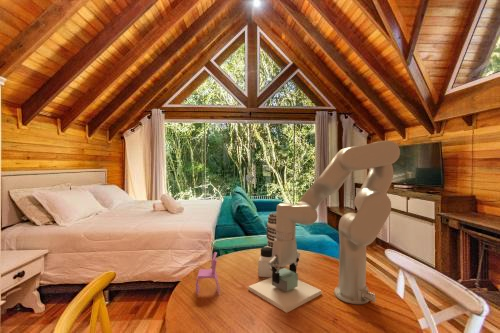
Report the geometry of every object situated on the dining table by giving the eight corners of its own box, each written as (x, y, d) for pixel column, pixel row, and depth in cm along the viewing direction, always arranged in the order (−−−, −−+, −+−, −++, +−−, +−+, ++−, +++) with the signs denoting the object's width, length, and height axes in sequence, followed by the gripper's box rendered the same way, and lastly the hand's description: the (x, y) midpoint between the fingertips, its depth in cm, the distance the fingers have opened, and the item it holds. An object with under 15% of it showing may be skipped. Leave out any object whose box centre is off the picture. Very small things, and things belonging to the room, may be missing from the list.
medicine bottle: (274, 278, 114) (274, 251, 114) (257, 276, 115) (258, 249, 115) (275, 271, 121) (276, 245, 121) (260, 270, 122) (260, 244, 122)
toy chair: (197, 286, 105) (198, 249, 105) (219, 285, 106) (220, 249, 106) (195, 297, 97) (195, 257, 97) (219, 296, 98) (219, 256, 98)
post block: (321, 294, 101) (321, 277, 101) (286, 312, 88) (286, 293, 88) (282, 276, 116) (283, 261, 116) (248, 289, 103) (248, 273, 103)
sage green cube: (297, 286, 102) (297, 273, 102) (285, 291, 97) (285, 278, 97) (284, 279, 107) (284, 267, 107) (272, 285, 102) (272, 272, 102)
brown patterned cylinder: (273, 258, 138) (274, 210, 137) (287, 263, 131) (288, 213, 130) (261, 262, 132) (262, 213, 131) (275, 268, 125) (276, 216, 124)
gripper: (292, 229, 110) (291, 270, 110) (262, 236, 99) (261, 281, 99) (307, 233, 104) (306, 276, 105) (277, 241, 93) (275, 289, 94)
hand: (284, 278), depth 102 cm, fingers open, 9 cm apart
